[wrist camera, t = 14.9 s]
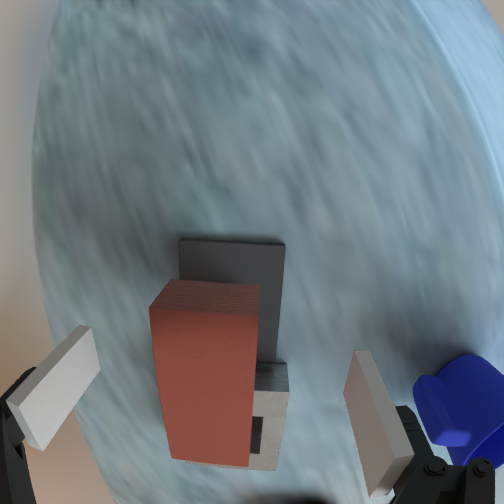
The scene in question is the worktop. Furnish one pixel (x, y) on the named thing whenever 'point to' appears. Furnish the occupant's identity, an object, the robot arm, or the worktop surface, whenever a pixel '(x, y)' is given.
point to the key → (206, 368)
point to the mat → (241, 278)
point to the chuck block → (266, 417)
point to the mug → (464, 409)
